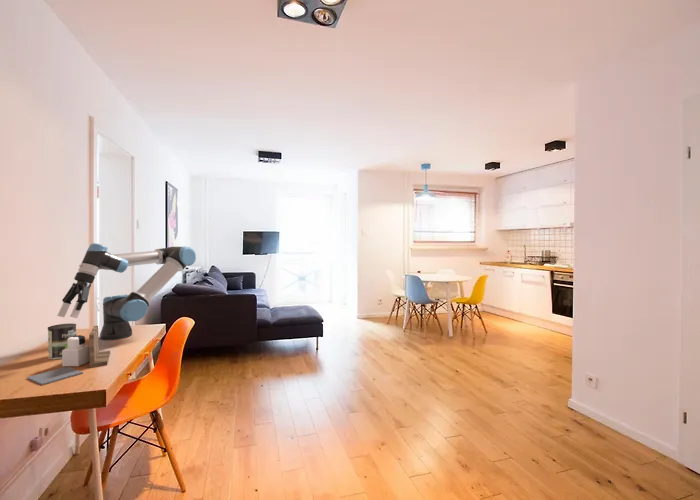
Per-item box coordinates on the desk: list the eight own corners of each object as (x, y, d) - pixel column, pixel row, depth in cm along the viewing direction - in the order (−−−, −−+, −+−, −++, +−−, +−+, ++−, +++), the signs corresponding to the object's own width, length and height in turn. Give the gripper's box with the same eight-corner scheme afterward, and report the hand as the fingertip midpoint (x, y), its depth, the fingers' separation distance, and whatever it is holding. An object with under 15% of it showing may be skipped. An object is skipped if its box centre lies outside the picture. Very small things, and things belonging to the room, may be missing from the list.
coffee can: (82, 352, 165) (81, 323, 165) (60, 360, 155) (59, 329, 155) (65, 351, 167) (64, 322, 167) (42, 358, 157) (41, 328, 157)
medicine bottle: (75, 360, 155) (75, 334, 154) (91, 360, 154) (90, 334, 154) (61, 366, 147) (61, 338, 147) (78, 366, 147) (77, 338, 147)
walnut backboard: (94, 355, 161) (94, 325, 161) (110, 353, 165) (109, 324, 164) (89, 367, 146) (89, 334, 146) (107, 364, 149) (106, 332, 149)
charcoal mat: (67, 367, 146) (67, 366, 146) (82, 373, 139) (82, 372, 139) (27, 378, 134) (27, 377, 134) (42, 385, 128) (42, 383, 128)
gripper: (66, 272, 172) (46, 314, 164) (90, 270, 159) (69, 315, 151) (83, 277, 178) (64, 318, 170) (107, 275, 165) (88, 319, 157)
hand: (66, 317), depth 160 cm, fingers open, 13 cm apart
